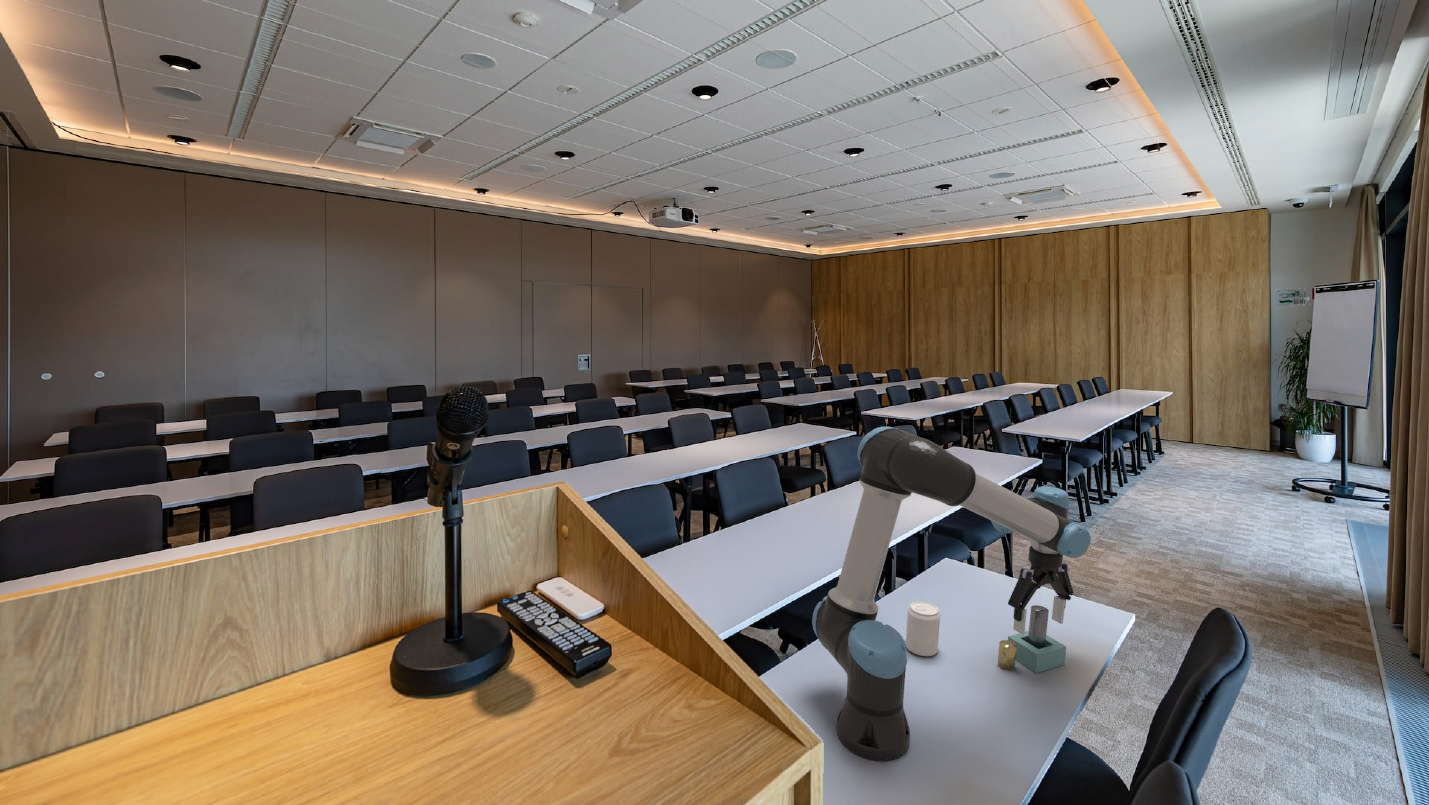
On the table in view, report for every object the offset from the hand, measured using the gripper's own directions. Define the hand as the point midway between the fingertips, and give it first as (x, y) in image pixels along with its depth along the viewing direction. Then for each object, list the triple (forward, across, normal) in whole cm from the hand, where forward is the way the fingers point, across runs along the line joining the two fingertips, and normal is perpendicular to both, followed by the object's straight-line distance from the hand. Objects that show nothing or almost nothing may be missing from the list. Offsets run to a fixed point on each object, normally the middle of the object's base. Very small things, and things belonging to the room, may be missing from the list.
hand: (1038, 626), depth 156 cm
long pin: (+9, 0, 0) cm, 9 cm away
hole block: (+9, 0, 0) cm, 9 cm away
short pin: (+9, -10, 0) cm, 13 cm away
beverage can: (+9, -24, +14) cm, 30 cm away
